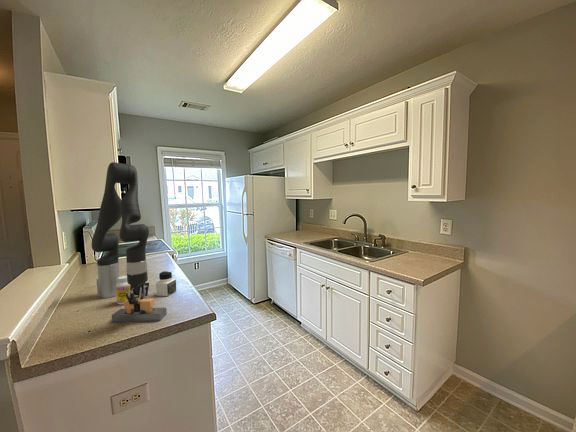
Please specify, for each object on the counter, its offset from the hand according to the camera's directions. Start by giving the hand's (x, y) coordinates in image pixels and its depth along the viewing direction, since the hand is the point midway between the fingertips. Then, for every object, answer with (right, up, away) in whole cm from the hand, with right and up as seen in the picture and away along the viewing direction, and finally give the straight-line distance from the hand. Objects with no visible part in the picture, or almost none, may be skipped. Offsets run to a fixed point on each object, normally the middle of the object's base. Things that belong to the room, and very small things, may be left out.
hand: (139, 309), depth 107 cm
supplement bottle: (-17, -3, +17) cm, 24 cm away
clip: (0, -2, 0) cm, 2 cm away
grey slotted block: (0, -4, 0) cm, 4 cm away
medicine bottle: (-2, -2, +27) cm, 27 cm away
